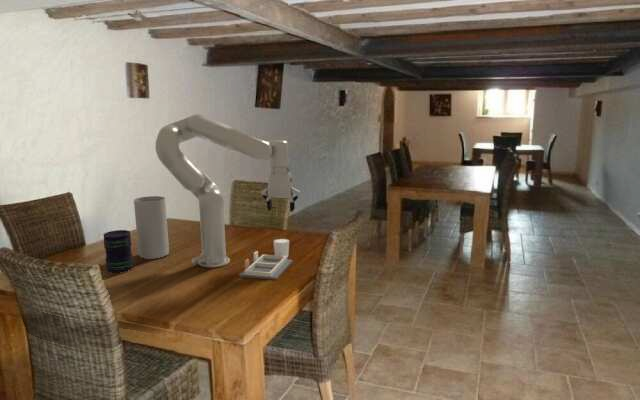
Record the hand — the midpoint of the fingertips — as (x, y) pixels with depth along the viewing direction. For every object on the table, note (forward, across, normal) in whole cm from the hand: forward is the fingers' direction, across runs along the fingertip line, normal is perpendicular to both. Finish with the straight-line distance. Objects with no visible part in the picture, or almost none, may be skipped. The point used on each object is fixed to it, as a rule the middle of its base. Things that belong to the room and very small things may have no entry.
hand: (281, 210), depth 196 cm
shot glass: (+20, 0, 0) cm, 20 cm away
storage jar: (+20, +58, +30) cm, 68 cm away
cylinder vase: (+20, +55, +11) cm, 60 cm away
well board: (+20, +1, +16) cm, 26 cm away
